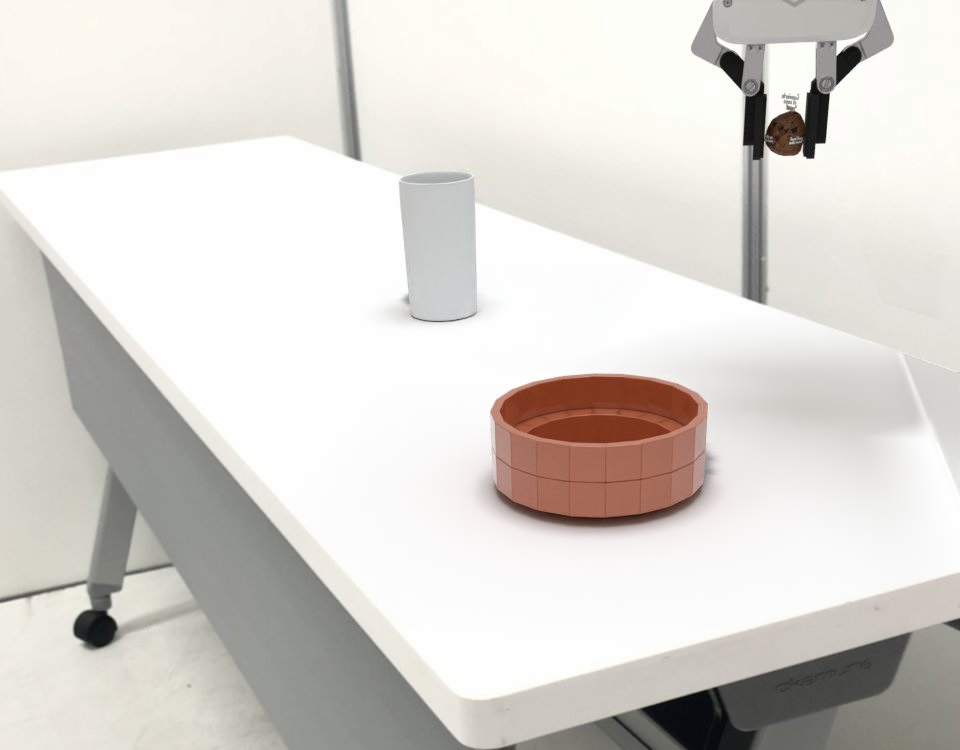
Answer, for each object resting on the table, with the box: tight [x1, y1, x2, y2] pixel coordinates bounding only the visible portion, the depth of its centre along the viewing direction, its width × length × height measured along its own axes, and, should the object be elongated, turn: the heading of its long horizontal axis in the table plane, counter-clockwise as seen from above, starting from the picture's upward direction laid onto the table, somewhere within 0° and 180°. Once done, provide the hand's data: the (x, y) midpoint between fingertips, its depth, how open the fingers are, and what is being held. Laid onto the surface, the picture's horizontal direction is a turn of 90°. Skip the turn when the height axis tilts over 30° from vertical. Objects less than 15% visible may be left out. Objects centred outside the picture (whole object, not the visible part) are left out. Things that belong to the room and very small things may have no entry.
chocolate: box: [764, 92, 805, 157], centre depth 82 cm, size 3×2×4 cm
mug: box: [398, 170, 478, 322], centre depth 112 cm, size 10×7×12 cm, turn 164°
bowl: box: [489, 372, 709, 519], centre depth 76 cm, size 13×13×5 cm
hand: (783, 153), depth 83 cm, fingers closed on chocolate, 2 cm apart
